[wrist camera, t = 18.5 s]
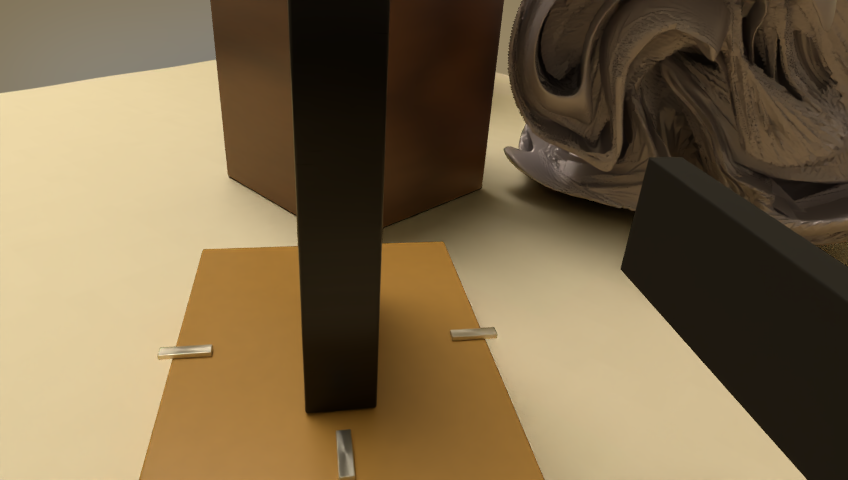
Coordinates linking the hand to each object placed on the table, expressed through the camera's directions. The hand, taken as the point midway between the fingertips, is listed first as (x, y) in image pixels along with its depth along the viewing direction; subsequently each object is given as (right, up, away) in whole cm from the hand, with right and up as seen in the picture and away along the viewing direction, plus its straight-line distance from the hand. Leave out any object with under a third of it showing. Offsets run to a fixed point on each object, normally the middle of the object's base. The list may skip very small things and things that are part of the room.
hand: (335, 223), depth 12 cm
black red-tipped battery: (-1, -3, +6) cm, 7 cm away
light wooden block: (-1, -5, +7) cm, 9 cm away
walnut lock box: (-2, +3, +22) cm, 22 cm away
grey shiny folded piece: (+16, +2, +22) cm, 27 cm away
